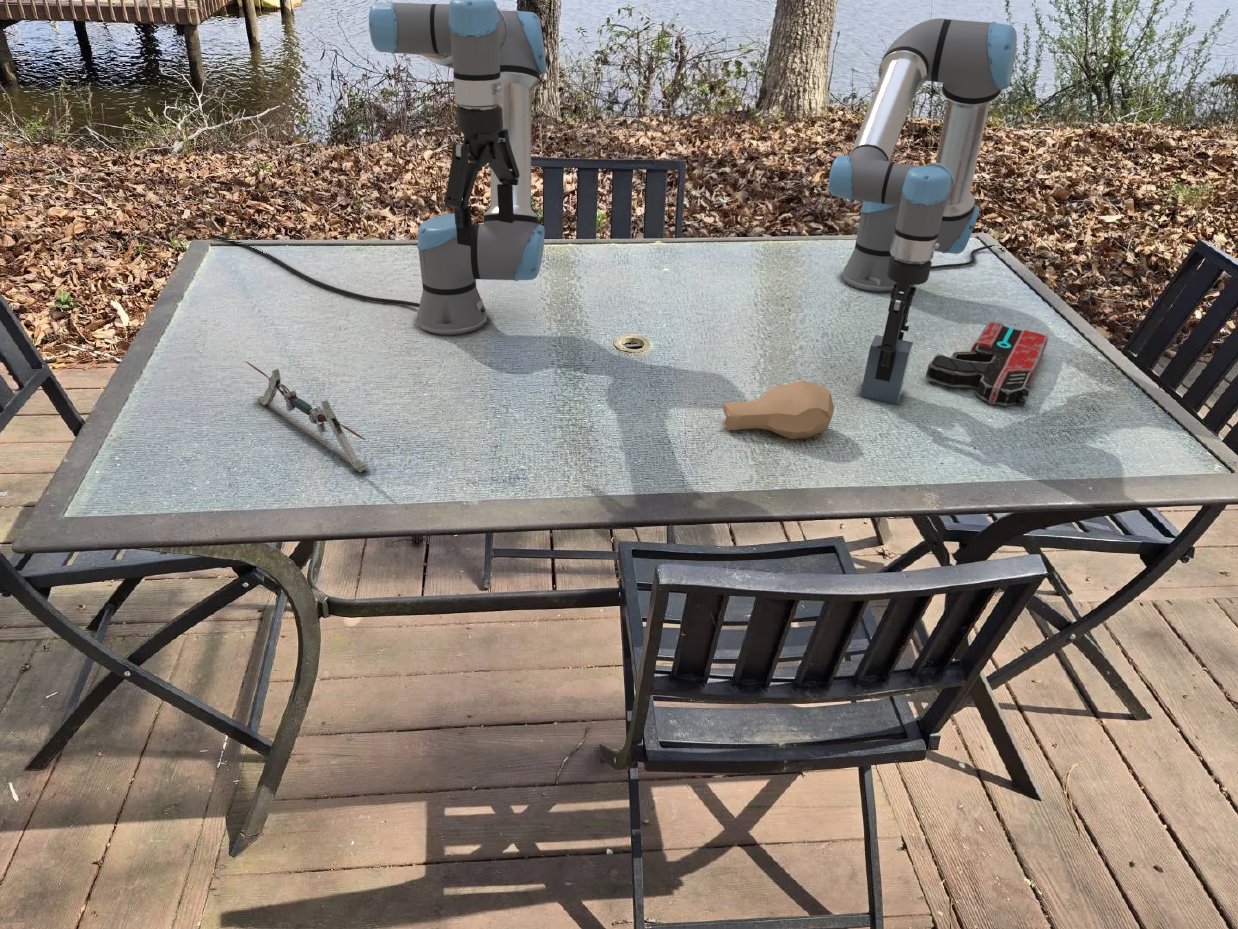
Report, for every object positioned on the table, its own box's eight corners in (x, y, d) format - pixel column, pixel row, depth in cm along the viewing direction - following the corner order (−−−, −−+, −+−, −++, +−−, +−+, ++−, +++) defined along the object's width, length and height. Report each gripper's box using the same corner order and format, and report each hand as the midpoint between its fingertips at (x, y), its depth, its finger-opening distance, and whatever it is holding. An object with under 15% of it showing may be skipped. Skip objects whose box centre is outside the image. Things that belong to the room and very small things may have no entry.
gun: (926, 366, 174) (1027, 394, 166) (962, 310, 196) (1054, 333, 188) (920, 386, 177) (1020, 414, 169) (957, 329, 199) (1047, 352, 191)
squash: (838, 445, 158) (841, 407, 151) (727, 454, 159) (725, 416, 153) (828, 406, 165) (831, 369, 159) (722, 415, 167) (721, 378, 161)
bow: (376, 475, 146) (368, 423, 140) (367, 479, 145) (359, 428, 139) (259, 394, 167) (248, 347, 162) (250, 398, 166) (238, 350, 160)
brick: (860, 396, 173) (870, 345, 167) (865, 384, 177) (875, 334, 171) (897, 404, 171) (909, 352, 164) (901, 392, 175) (913, 342, 168)
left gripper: (455, 123, 132) (465, 258, 144) (536, 94, 151) (539, 215, 163) (414, 117, 134) (427, 250, 146) (498, 89, 153) (504, 209, 165)
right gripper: (923, 280, 149) (896, 397, 162) (940, 243, 165) (914, 353, 177) (879, 272, 151) (856, 388, 164) (899, 237, 167) (876, 345, 180)
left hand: (486, 232), depth 154 cm, fingers open, 13 cm apart
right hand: (886, 370), depth 171 cm, fingers open, 8 cm apart
